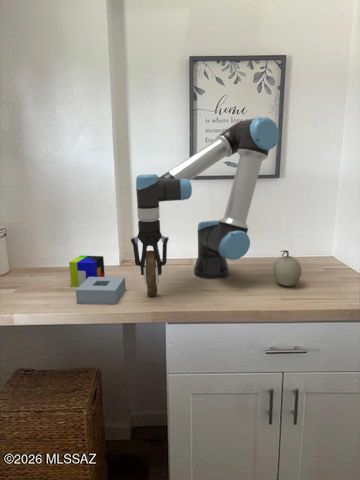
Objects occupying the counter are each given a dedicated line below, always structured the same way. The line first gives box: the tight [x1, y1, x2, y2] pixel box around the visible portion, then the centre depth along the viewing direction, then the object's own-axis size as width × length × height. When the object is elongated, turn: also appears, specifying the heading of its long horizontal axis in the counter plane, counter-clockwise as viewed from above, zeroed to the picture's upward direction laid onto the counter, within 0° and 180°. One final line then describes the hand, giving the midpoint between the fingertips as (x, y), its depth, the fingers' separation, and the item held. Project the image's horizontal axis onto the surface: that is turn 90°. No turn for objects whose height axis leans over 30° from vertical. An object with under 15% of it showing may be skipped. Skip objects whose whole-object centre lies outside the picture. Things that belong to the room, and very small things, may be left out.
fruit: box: [272, 249, 302, 287], centre depth 136 cm, size 10×12×15 cm
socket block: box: [75, 276, 126, 305], centre depth 128 cm, size 14×14×5 cm
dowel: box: [145, 249, 158, 297], centre depth 126 cm, size 4×4×16 cm
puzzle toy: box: [68, 254, 106, 287], centre depth 142 cm, size 10×10×10 cm
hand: (151, 283), depth 127 cm, fingers closed on dowel, 3 cm apart
